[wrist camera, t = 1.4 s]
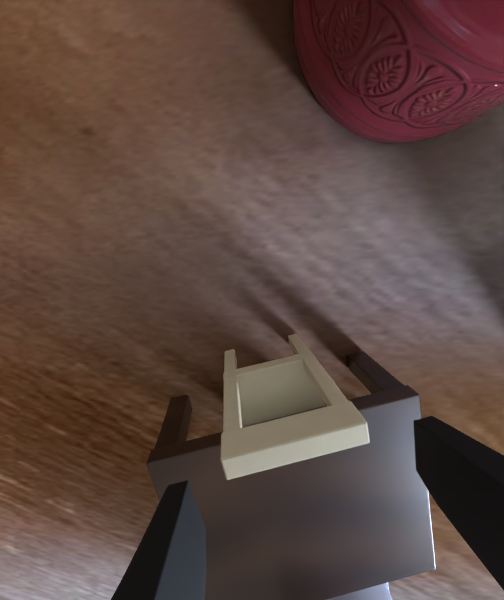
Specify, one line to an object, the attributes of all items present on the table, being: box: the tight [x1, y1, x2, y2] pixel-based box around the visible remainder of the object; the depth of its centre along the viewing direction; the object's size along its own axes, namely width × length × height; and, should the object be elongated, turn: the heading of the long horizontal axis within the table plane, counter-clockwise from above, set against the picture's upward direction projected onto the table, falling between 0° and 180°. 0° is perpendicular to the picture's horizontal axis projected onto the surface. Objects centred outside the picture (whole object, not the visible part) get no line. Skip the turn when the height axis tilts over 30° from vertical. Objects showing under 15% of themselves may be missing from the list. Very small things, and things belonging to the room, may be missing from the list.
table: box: [147, 351, 436, 600], centre depth 19 cm, size 12×14×6 cm
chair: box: [220, 333, 370, 480], centre depth 15 cm, size 5×5×10 cm
